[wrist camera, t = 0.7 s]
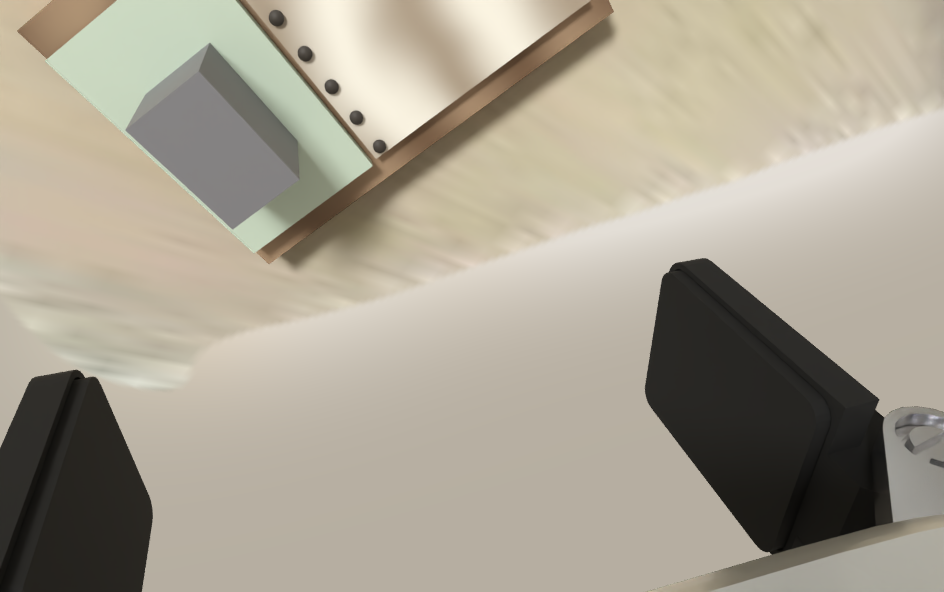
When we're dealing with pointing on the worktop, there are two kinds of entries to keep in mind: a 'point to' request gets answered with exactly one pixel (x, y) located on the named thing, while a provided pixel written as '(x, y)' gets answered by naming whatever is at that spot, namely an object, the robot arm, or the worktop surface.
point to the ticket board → (385, 67)
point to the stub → (214, 110)
